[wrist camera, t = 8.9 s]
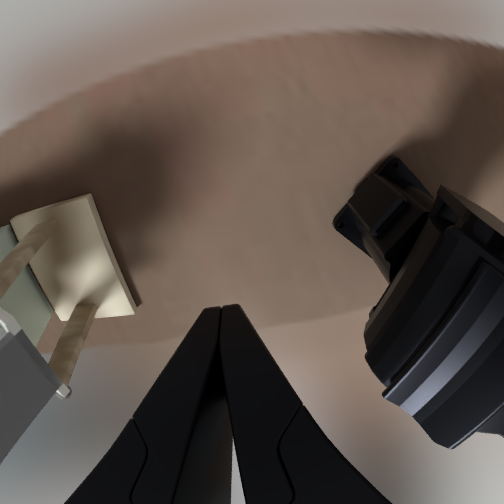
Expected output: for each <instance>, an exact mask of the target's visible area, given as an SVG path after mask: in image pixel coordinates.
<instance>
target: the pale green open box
mask: <svg viewBox="0 0 504 504" xmlns="http://www.w3.org/2000/svg"><path fill="white" fill-rule="evenodd" d="M17 244H18V242H17V240H16V238H15V235H14V233H13V231H12V229H11V226H10V224H9V225H6V226H3V227H0V263H1V262H2V261H3V260H4V258H5V257H6V256H7V255H8V254H9V253H10V252H11V251H12V249H13V248H14V247H15V246H16V245H17ZM0 307H1V308H2V309H4V310H5V311H6V312H8V313H9V314H11V315H12V316H14V318H15V319H16V321H17V322H18V324H19V325H20V327H21V328H22V330H23V331H24V332H25V334H26V335H27V337H28V338H29V340H30V341H31V342H32V344H33V345H34V346H35V347H36V345H37V343H38V341H39V339H40V337H41V335H42V333H43V331H44V330H45V328H46V326H47V324H48V322H49V320H50V318H51V316H52V314H53V313H54V310H53V309H52V307H51V305H50V304H49V302H48V300H47V298H46V297H45V295H44V293H43V291H42V290H41V288H40V286H39V284H38V282H37V280H36V279H35V277H34V275H33V273H32V271H31V269H30V267H29V265H28V264H27V265H26V266H25V268H24V269H23V270H22V271H21V273H20V274H19V275H18V277H17V278H16V279H15V281H14V282H13V283H12V285H11V286H10V287H9V289H8V290H7V291H6V293H5V294H4V296H3V297H2V298H1V300H0Z"/></svg>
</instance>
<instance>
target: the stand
mask: <svg viewBox="0 0 504 504" xmlns="http://www.w3.org/2000/svg"><path fill="white" fill-rule="evenodd" d="M10 222H11V225H12V227H13V229H14V232H15V234H16V236H17V239H18V241H19V243H18V244H17V245H16V246H15V247H14V248H13V249H12V251H11V252H10V253H9V254H8V255H7V256H6V257H5V258H4V260H3V261H2V262H1V263H0V300H1V298H2V297H3V296H4V294H5V293H6V291H7V290H8V289H9V287H10V286H11V285H12V283H13V282H14V281H15V279H16V278H17V277H18V275H19V274H20V273H21V271H22V270H23V269H24V268H25V266H26V265H27V264H28V262H29V264H30V266H31V268H32V270H33V272H34V274H35V275H36V277H37V279H38V281H39V283H40V285H41V287H42V289H43V290H44V292H45V294H46V296H47V297H48V299H49V301H50V303H51V304H52V306H53V308H54V309H55V311H56V313H57V314H58V316H59V318H60V319H61V321H66V320H68V322H67V324H66V326H65V328H64V330H63V332H62V334H61V337H60V339H59V341H58V343H57V345H56V348H55V350H54V352H53V354H52V357H51V359H50V361H49V364H48V365H49V366H50V367H51V369H52V370H53V371H54V372H55V373H56V375H57V376H58V377H59V378H60V380H61V381H62V382H63V383H64V384H65V385H66V387H67V388H68V389H69V390H70V392H69V393H68V394H67V396H66V397H65V398H64V397H63V396H62V395H60V394H59V393H57V392H55V394H56V395H57V396H58V397H59V398H60V399H62V400H65V399H67V398H69V396H70V395H71V393H72V391H71V388H70V387H69V385H68V384H69V381H70V378H71V376H72V373H73V370H74V367H75V365H76V362H77V359H78V357H79V354H80V351H81V349H82V346H83V344H84V341H85V339H86V336H87V334H88V331H89V329H90V326H91V324H92V322H93V319H94V318H103V317H113V316H124V315H134V314H135V312H136V309H137V307H136V304H135V302H134V300H133V298H132V296H131V293H130V291H129V289H128V287H127V284H126V282H125V280H124V278H123V275H122V273H121V271H120V268H119V266H118V263H117V261H116V258H115V256H114V254H113V251H112V248H111V246H110V243H109V241H108V238H107V236H106V233H105V230H104V228H103V225H102V222H101V219H100V217H99V214H98V211H97V208H96V205H95V202H94V200H93V197H92V194H91V193H90V194H86V195H82V196H79V197H75V198H72V199H68V200H65V201H61V202H58V203H54V204H51V205H48V206H45V207H41V208H38V209H35V210H32V211H29V212H26V213H23V214H20V215H17V216H15V217H13V218H12V219H11V220H10Z"/></svg>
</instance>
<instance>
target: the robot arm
mask: <svg viewBox="0 0 504 504" xmlns="http://www.w3.org/2000/svg"><path fill="white" fill-rule="evenodd" d="M394 161H396V164H395V165H394V166H392V163H393V162H394ZM437 195H438V196H437V198H436V200H434V198H433V197H432V196H431V195H430V193H429V192H428V191H427V190H426V189H425V187H424V186H423V185H422V184H421V183H420V181H419V180H418V179H417V178H416V177H415V176H414V175H413V173H412V172H411V171H410V170H409V169H408V168H407V167H406V165H405V164H404V163H403V162H402V161H401V160H400V159H399V158H397V157H396V156H390V157H389V158H387V160H386V161H385V162H384V163H383V164H382V165H381V167H380V168H379V169H378V170H377V171H376V172H375V173H374V174H371V175H370V177H369V178H368V179H367V180H366V181H365V182H364V183H363V185H362V186H361V187H360V188H359V189H358V190H357V191H356V192H355V194H354V195H353V196H352V197H351V198H350V199H349V200H348V204H347V205H346V206H345V207H344V208H343V209H342V210H341V212H340V213H339V214H338V215H337V216H336V217H335V218H334V220H333V226H334V228H335V229H336V230H337V231H338V232H339V233H341V234H342V235H343V236H344V237H346V238H347V239H348V240H349V241H351V242H352V243H353V244H355V245H356V246H357V247H358V248H360V249H361V250H362V251H363V252H365V253H366V254H367V255H368V256H369V257H371V258H372V259H373V260H374V262H375V263H376V265H377V266H378V268H379V269H380V271H381V273H382V274H383V276H384V277H385V279H386V280H387V282H388V284H389V286H388V287H387V289H386V291H385V292H384V294H383V295H382V297H381V299H380V300H379V302H378V303H377V305H376V306H374V307H373V308H372V310H371V311H370V313H369V320H368V322H367V323H366V326H365V331H364V339H365V344H366V349H367V352H366V354H365V359H366V361H367V363H368V365H369V367H370V368H371V370H372V372H373V373H374V374H375V375H376V377H377V378H378V379H379V380H380V382H381V383H382V384H384V385H385V386H386V387H387V388H386V389H385V390H384V391H383V392H382V396H383V397H384V398H385V399H387V400H389V401H390V402H392V403H394V404H396V405H398V406H400V407H401V408H402V409H404V410H405V411H406V412H407V413H409V414H410V415H411V416H412V417H413V418H414V419H415V420H416V421H417V422H418V423H419V424H420V425H421V427H422V428H423V429H424V430H425V432H426V433H427V434H428V435H429V437H430V438H431V439H432V440H433V441H434V442H435V443H437V444H439V445H442V446H444V447H446V448H449V449H454V448H456V447H457V446H458V445H460V444H461V443H462V442H463V441H465V440H466V439H467V438H469V437H470V436H471V435H473V434H474V433H475V432H481V433H491V434H498V435H501V436H502V437H503V438H504V223H503V222H502V221H500V220H499V219H498V218H496V217H495V216H494V215H492V214H491V213H490V212H488V211H487V210H485V209H483V208H482V207H480V206H478V205H477V204H475V203H473V202H471V201H470V200H468V199H466V198H464V197H463V196H461V195H459V194H457V193H455V192H454V191H452V190H450V189H448V188H446V187H444V186H442V185H440V187H439V189H438V191H437ZM341 221H342V222H343V223H342V225H339V226H338V223H339V222H341ZM132 417H133V419H130V420H129V422H128V423H127V425H126V426H125V428H124V429H123V431H122V432H121V433H120V435H119V437H118V438H117V439H116V441H115V442H114V443H113V445H112V446H111V448H110V449H109V450H108V452H107V453H106V454H105V455H104V457H103V458H102V459H101V460H100V462H99V463H98V464H97V466H96V467H95V468H94V469H93V470H92V472H91V473H90V474H89V475H88V476H87V477H86V479H85V480H84V481H83V482H82V483H81V484H80V486H79V487H78V488H77V489H76V490H75V491H74V493H73V494H72V495H71V496H70V497H69V498H68V500H67V501H66V502H65V503H64V504H231V478H232V447H233V445H232V444H233V439H234V445H235V450H236V456H237V461H238V467H239V472H240V477H241V482H242V487H243V493H244V497H245V502H246V504H392V503H391V502H390V501H389V500H388V499H386V498H385V497H384V496H383V495H382V494H381V493H380V492H379V491H378V490H377V489H376V488H375V487H374V486H373V485H372V484H371V483H370V482H369V481H368V480H367V479H366V478H365V477H364V476H363V475H362V474H361V473H360V472H359V471H358V470H357V469H356V468H355V467H354V466H353V465H352V464H351V463H350V462H349V461H348V460H347V459H346V458H345V457H344V456H343V455H342V454H341V453H340V452H339V450H338V449H337V448H336V447H335V446H334V444H333V443H332V442H331V441H330V440H329V439H328V438H327V436H326V435H325V434H324V432H323V431H322V430H321V428H320V427H319V425H318V424H317V423H316V422H315V420H314V419H313V417H312V416H311V414H310V413H309V411H308V410H307V409H306V407H305V406H304V405H303V403H302V401H301V400H300V398H299V397H298V395H297V394H296V392H295V391H294V389H293V388H292V386H291V385H290V383H289V382H288V380H287V378H286V377H285V375H284V374H283V372H282V371H281V370H280V368H279V366H278V365H277V363H276V362H275V360H274V358H273V357H272V355H271V354H270V352H269V351H268V349H267V348H266V346H265V344H264V343H263V341H262V340H261V338H260V337H259V335H258V333H257V332H256V330H255V329H254V327H253V325H252V324H251V322H250V321H249V319H248V317H247V316H246V314H245V313H244V311H243V309H242V308H241V306H240V305H239V304H231V305H225V306H223V307H222V308H221V307H220V306H217V307H209V308H205V309H204V310H203V311H202V312H201V314H200V315H199V317H198V318H197V320H196V321H195V323H194V324H193V326H192V327H191V329H190V330H189V332H188V333H187V335H186V336H185V338H184V339H183V341H182V342H181V344H180V345H179V347H178V348H177V350H176V351H175V353H174V354H173V356H172V357H171V359H170V360H169V362H168V363H167V365H166V366H165V368H164V369H163V371H162V372H161V374H160V375H159V377H158V378H157V380H156V381H155V383H154V384H153V386H152V387H151V389H150V390H149V392H148V393H147V395H146V396H145V398H144V399H143V401H142V402H141V404H140V405H139V407H138V408H137V410H136V411H135V413H134V414H133V416H132Z"/></svg>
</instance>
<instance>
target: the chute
mask: <svg viewBox="0 0 504 504" xmlns="http://www.w3.org/2000/svg"><path fill="white" fill-rule="evenodd" d="M55 392H57V393H59V394H60V395H62V396H63V397H64V398H65V397H66V396H67V394H68V393H69V392H70V390H69V389H68V388H67V387H66V385H65V384H64V383H63V382H62V381H61V380H60V378H59V377H58V376H57V375H56V373H55V372H54V371H53V370H52V369H51V367H50V366H49V365H48V364H47V362H46V361H45V360H44V358H43V357H42V356H41V354H40V353H39V352H38V351H37V349H36V348H35V346H34V345H33V344H32V342H31V341H30V340H29V338H28V337H27V335H26V334H25V332H24V331H23V330H22V328H21V327H20V325H19V324H18V322H17V321H16V319H15V318H14V316H12V315H11V314H9V313H8V312H6V311H5V310H4V309H2V308H1V307H0V464H1V463H2V461H3V459H4V458H5V457H6V456H7V454H8V453H9V452H10V450H11V449H12V448H13V446H14V445H15V443H16V442H17V441H18V440H19V438H20V437H21V436H22V434H23V433H24V432H25V430H26V429H27V428H28V426H29V425H30V424H31V423H32V421H33V420H34V419H35V417H36V416H37V415H38V414H39V412H40V411H41V410H42V409H43V407H44V406H45V405H46V404H47V402H48V401H49V400H50V398H51V397H52V396H53V395H54V394H55Z"/></svg>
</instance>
